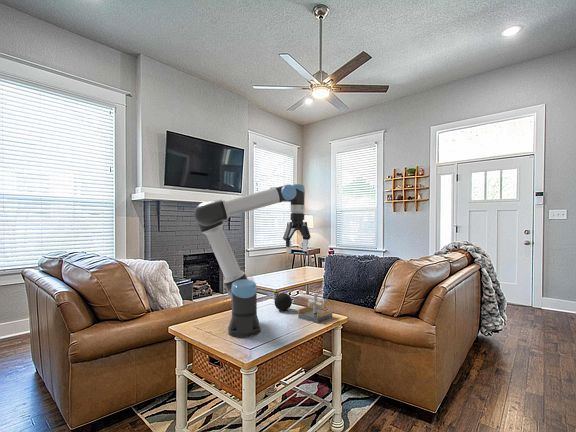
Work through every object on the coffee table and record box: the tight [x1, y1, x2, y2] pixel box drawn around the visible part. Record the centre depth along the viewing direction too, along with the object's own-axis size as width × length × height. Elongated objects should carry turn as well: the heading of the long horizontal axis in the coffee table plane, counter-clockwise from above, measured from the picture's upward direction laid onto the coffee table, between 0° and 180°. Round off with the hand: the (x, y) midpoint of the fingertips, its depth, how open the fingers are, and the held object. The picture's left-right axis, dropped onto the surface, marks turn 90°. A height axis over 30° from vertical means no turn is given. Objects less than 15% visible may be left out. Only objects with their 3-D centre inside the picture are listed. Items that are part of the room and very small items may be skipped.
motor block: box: [297, 305, 333, 324], centre depth 169 cm, size 13×13×4 cm
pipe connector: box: [307, 292, 324, 313], centre depth 169 cm, size 10×10×10 cm
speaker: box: [273, 292, 293, 312], centre depth 182 cm, size 10×10×10 cm
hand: (297, 252), depth 171 cm, fingers open, 13 cm apart
